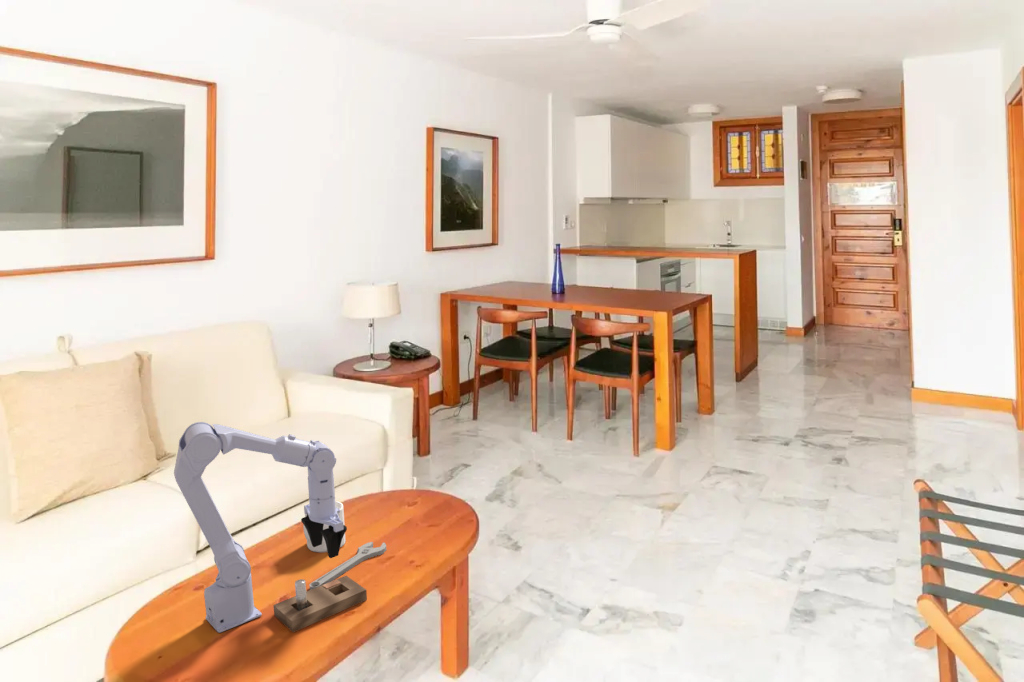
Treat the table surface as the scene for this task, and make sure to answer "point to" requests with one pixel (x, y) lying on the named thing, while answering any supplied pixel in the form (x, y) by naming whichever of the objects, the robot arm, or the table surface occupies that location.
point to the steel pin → (301, 594)
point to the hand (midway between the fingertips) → (325, 550)
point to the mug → (323, 547)
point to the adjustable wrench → (350, 563)
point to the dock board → (320, 603)
